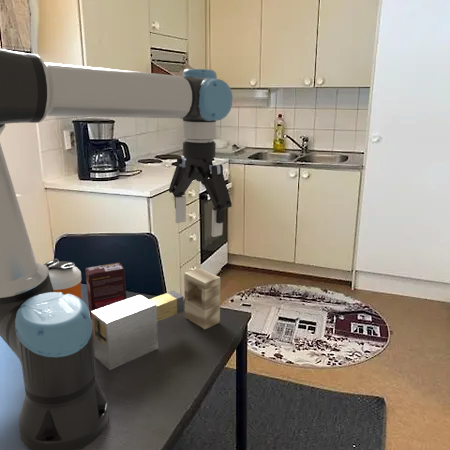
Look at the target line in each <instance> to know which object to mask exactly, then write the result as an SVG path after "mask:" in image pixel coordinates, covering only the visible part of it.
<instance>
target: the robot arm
mask: <svg viewBox="0 0 450 450" xmlns="http://www.w3.org/2000/svg"><path fill="white" fill-rule="evenodd" d="M232 107H233V93H232V89H231V87H230V85H229V84H228V82H226V81H224V80H223V79H221V78H220V79H218V77H217V73H216V71H215V70H214V69H205V68H204V69H201V68H186V69H184V70H183V71H182V75H176V74H175V75H174V74H163V73H155V72H152V73H151V72H143V71H134V70H133V71H132V70H124V69H123V70H122V69H112V68H105V67H94V66H93V67H92V66H85V65H84V66H83V65H74V64H65V63H64V64H62V63H56V62H55V63H54V62H46V61H44V60H43V59H42V57H41V56H40V55H38V54H37V53H36V54H35V53H27V52H22V51H15V50H14V51H13V50H10V49H9V50H8V49H4V48H0V135H1V134H2V133H3V131H4V130H5V128H6V125H7V124H24V123H26V124H27V123H30V124H31V123H35V124H37V123H42V122H43V121H44V119H45V118H47V117H48V116H49V117H83V118H84V117H87V118H88V117H90V118H91V117H93V118H99V117H100V118H135V119H136V118H139V119H141V118H142V119H143V118H144V119H145V118H147V119H180V120H182V139H184V140H183V142H182V157H178V158H176V167H175V169H174V172H173V175H172V178H171V182H170V183H169V188H168V192H169V193H170V194H171V193H172V194H173V197H174V209H175V224H180V223H185V222H187V217H186V216H187V196H186V192H187V190H188V189H189V187H190V186H191V184H192V182H193V181H197V182H199V183H201V185H203V186H204V188H205V190H206V192H207V194H208V196H209V198H210V201H211V203H212V205H213V207H214V208H212V209H211V210H212V211H211V237H213V238H215V237H216V238H217V237H219V236H220V237H221V236H222V235H223V228H224V227H223V224H224V223H225V210H226V209H228V208H232V205H233V204H232V201H231V200H232V199H231V197H230V194H229V190H228V187H227V184H226V179H225V176H224V167H223V165H222V164H214V163H213V160H214V158H215V157H216V147H217V146H216V145H217V144H216V143H217V142H215V141H214V140H215V139H216V138H217V137H216V136H217V121H221V120H223V119H225V118H226V117H227V116H228V115H229V113H230V111H231V109H232ZM10 174H11V173H10V171H9V167H8V165H7V160H6V158H5V154H4V152H3V147H2V144H1V143H0V337H1V339H2V340H3V341H4V342H5V343H6V344H7V346H9V348H10V349H11V351H12V352H13V353H14V354H15V355H16V357H17V359H19V361H20V365H21V368H22V369H21V371H22V377H23V385H24V389H25V390H24V391H25V394H24V398H23V403H22V407H21V409H20V410H21V411H20V414H19V419H18V430H19V437H20V441H21V443H22V444H23V445H24V446H25V447H26V448H27V449H29V450H79V449H82V448H83V447H85V446H87V445H89V444H90V443H92V442H93V441H94V440H95V439H97V438H98V437H99V436H100V434H102V433H103V431H104V430H105V429H106V426H107V424H108V422H109V406H108V402H107V398H106V397H105V394H104V392H103V391H102V389H101V387H100V384H99V383H98V380H97V379H96V370H95V352H94V339H93V329H92V320H91V317H90V313H89V306H88V305H87V304H86V302H85V301H84V300H83V299H82V298H81V299H80V298H79V297H77V296H75V295H72V294H65V295H63V293H62V292H54V290H53V286H52V283H51V280H50V276H49V273H48V270H47V268H46V267H45V266H43V264H40V263H38V262H37V261H36V257H35V254H34V253H35V252H34V251H33V248H32V243H31V240H30V238H29V234H28V230H27V227H26V224H25V220H24V217H23V213H22V211H21V206H20V203H19V200H18V196H17V194H16V191H15V190H16V189H15V187H14V184H13V181H12V177H11V175H10Z"/></svg>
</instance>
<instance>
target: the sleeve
mask: <svg viewBox="0 0 450 450" xmlns="http://www.w3.org/2000/svg"><path fill="white" fill-rule="evenodd" d="M91 314H92V326H93V329H92V339H93V352H94V358H96V359H97V360H98V361H99V362H100V363H101V364H102V365H104V367H106V368H107V369H108V370H109V371H111V370H113V369H115V368H118V367H120V366H122V365H125V364H126V363H127V364H128V363H129V362H131V361H133V360H136V359H137V358H140V357H142V356H146V355H147V354H149V353H151V352H153V351H156V350H157V349H159V339H158V337H159V335H158V334H159V333H158V322H157V304H155V303H153V302H152V301H150V300H149V299H148V298H147V297H145V296H144V295H141V294H138V295H135V296H132V297H128V298H126V300H123V301H120V302H117V303H114V304H111V305H108V306H106V307H103V308H100V309H97V310H94V311H91ZM99 321H100V322H102V323H103V324H104V325H105V331H106V338H105V337H103V336H102V335H101V334H100V325H99Z"/></svg>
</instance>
